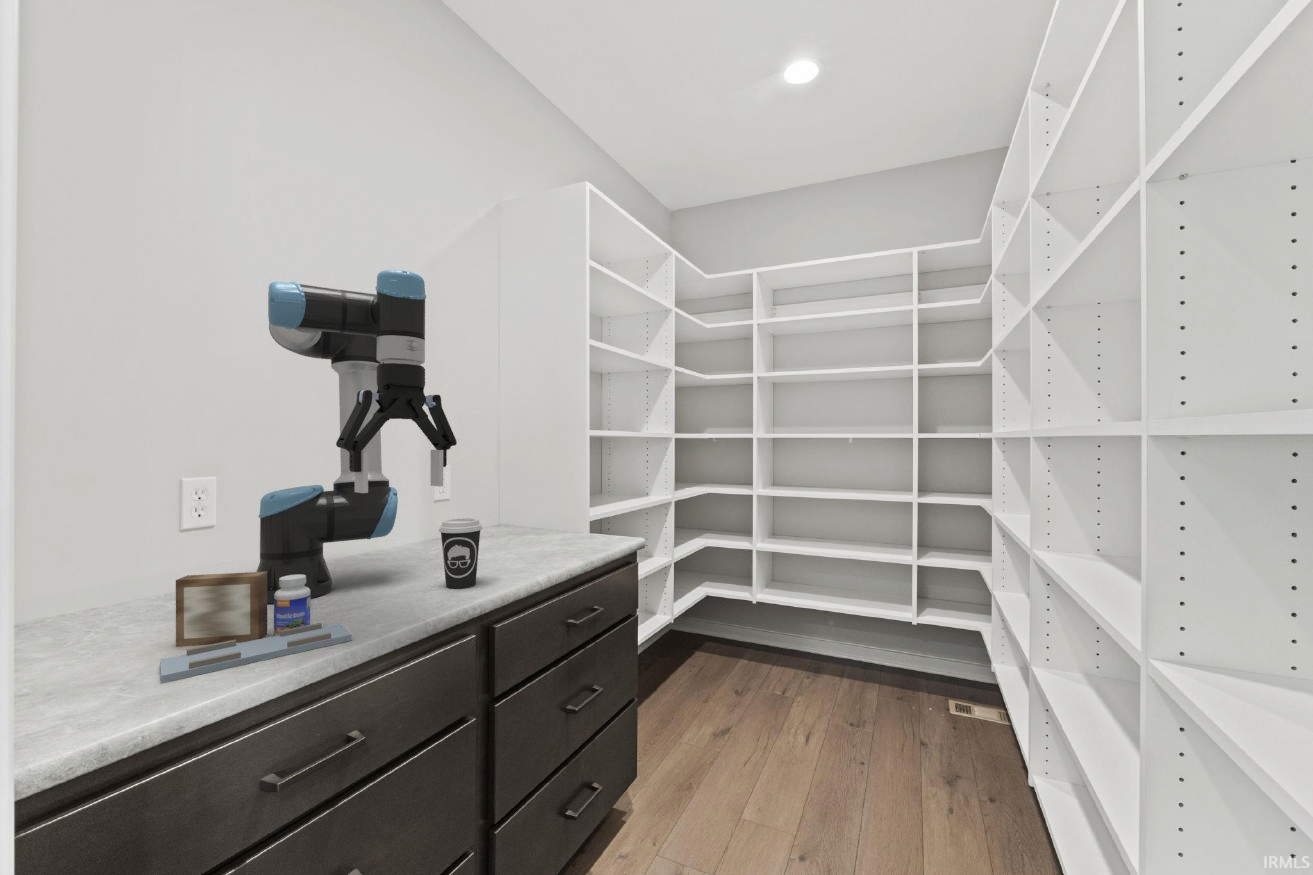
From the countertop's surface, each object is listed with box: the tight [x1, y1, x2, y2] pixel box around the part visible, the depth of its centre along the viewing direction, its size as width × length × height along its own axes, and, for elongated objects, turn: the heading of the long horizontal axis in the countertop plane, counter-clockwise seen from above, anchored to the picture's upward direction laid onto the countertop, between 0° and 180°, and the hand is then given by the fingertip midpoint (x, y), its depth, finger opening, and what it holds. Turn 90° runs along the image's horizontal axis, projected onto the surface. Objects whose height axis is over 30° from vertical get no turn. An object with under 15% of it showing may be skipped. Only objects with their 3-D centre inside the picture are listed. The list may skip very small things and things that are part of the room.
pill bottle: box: [273, 574, 312, 636], centre depth 98 cm, size 5×5×10 cm
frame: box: [175, 571, 268, 648], centre depth 94 cm, size 12×3×11 cm, turn 102°
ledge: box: [159, 622, 353, 684], centre depth 89 cm, size 8×24×2 cm, turn 132°
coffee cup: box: [438, 517, 483, 590], centre depth 129 cm, size 10×10×15 cm
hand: (401, 489), depth 95 cm, fingers open, 13 cm apart
